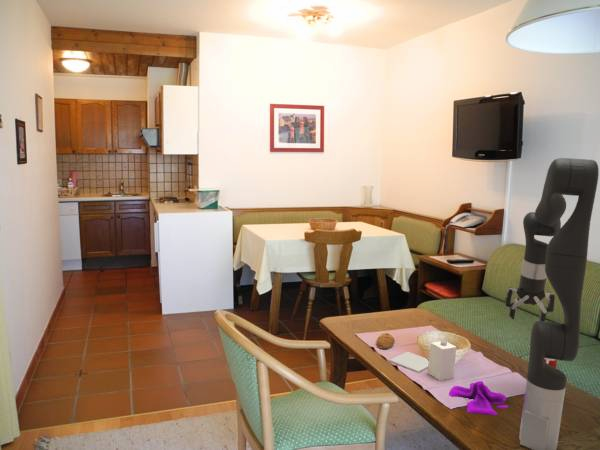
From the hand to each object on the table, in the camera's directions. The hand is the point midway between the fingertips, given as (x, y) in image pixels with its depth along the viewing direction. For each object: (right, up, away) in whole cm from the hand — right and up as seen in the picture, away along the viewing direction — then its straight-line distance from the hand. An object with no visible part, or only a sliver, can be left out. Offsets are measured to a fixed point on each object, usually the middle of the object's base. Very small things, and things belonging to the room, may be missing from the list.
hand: (526, 320), depth 168 cm
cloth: (-17, -24, -7) cm, 30 cm away
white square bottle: (-26, -20, +7) cm, 34 cm away
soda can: (+6, -23, 0) cm, 24 cm away
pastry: (-41, -16, +32) cm, 54 cm away
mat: (-33, -18, +17) cm, 41 cm away
